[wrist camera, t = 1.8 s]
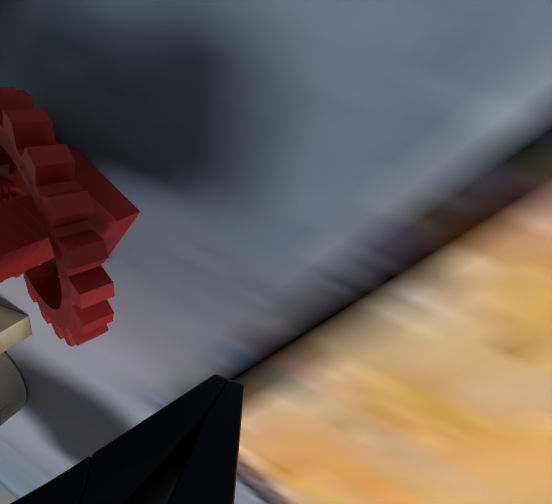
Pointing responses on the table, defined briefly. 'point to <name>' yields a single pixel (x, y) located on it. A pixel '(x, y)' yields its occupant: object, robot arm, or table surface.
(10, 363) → the thermos bottle
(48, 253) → the red cog wheel
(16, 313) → the carrier
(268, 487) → the table surface
